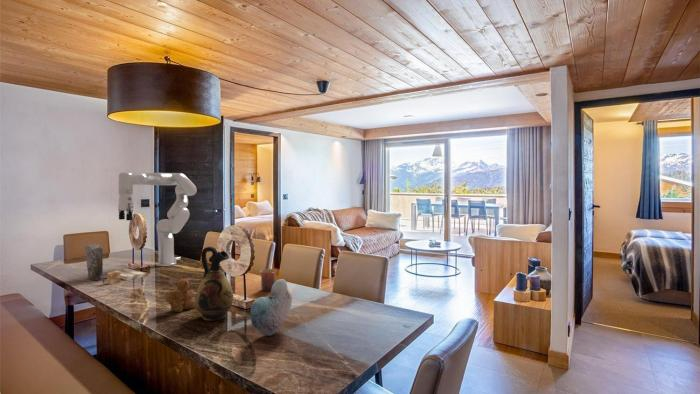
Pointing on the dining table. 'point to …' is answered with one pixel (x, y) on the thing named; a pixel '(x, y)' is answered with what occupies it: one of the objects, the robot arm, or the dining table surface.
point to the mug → (267, 279)
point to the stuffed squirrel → (180, 296)
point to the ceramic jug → (214, 288)
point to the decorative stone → (271, 309)
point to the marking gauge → (112, 277)
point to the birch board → (130, 274)
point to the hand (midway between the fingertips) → (125, 219)
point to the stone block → (94, 261)
